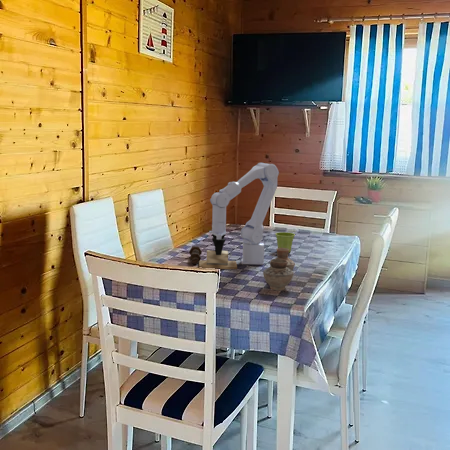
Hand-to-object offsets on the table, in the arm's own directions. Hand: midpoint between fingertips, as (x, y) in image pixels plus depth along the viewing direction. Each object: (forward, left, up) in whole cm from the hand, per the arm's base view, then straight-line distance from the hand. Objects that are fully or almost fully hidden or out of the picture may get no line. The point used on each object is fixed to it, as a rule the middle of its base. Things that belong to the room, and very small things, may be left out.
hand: (218, 252), depth 232 cm
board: (0, 0, -6) cm, 6 cm away
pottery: (-23, +25, -6) cm, 34 cm away
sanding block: (0, 0, -5) cm, 5 cm away
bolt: (+10, -8, -6) cm, 14 cm away
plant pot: (-32, -30, -6) cm, 45 cm away
